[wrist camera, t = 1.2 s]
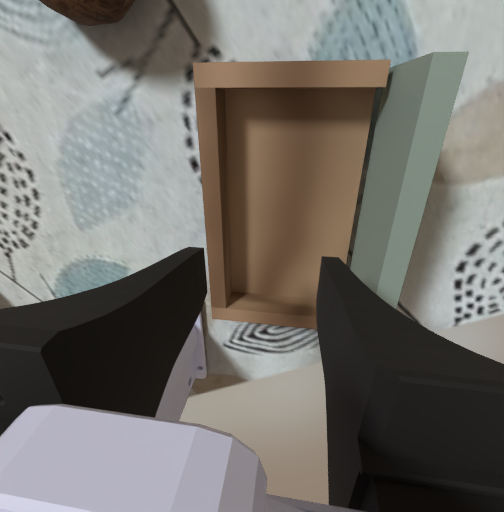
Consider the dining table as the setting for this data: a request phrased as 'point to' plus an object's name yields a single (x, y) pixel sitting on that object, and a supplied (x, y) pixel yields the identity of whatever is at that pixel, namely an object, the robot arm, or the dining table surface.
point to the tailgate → (403, 167)
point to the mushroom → (91, 10)
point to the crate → (280, 178)
